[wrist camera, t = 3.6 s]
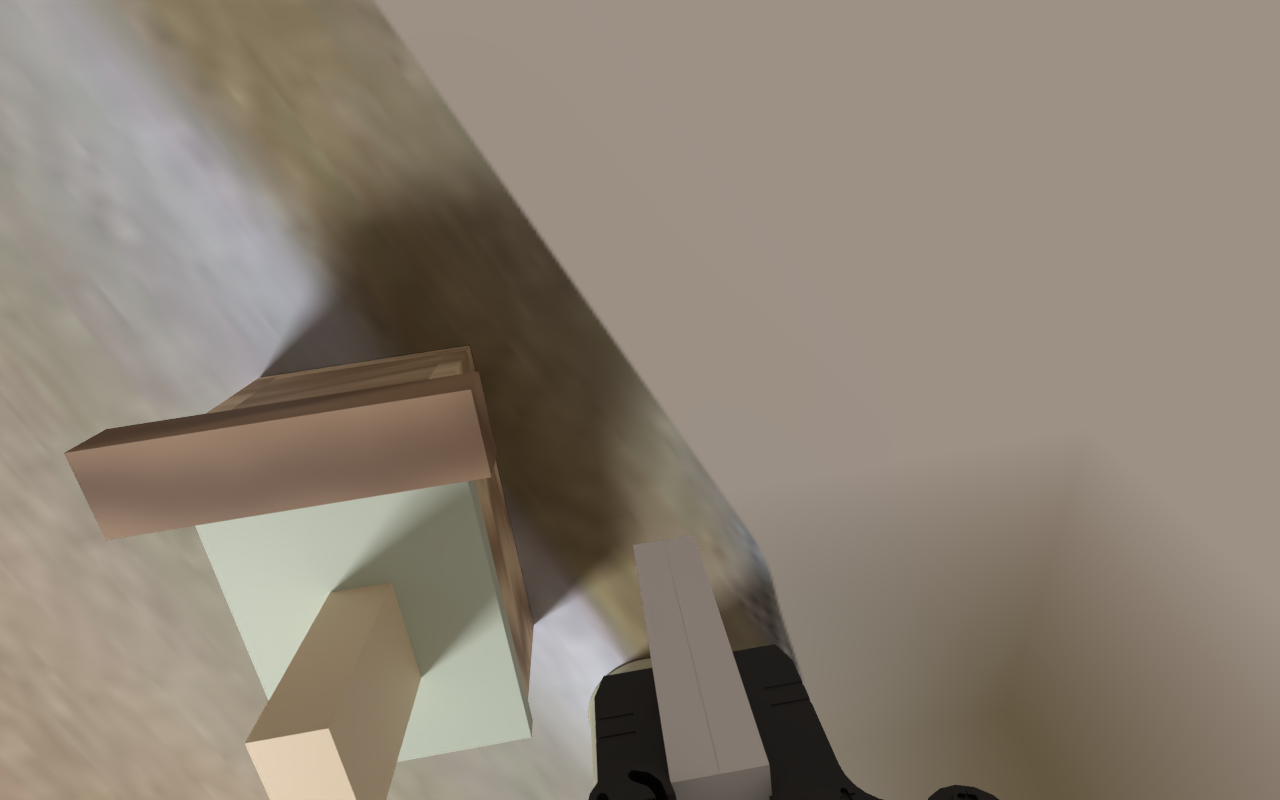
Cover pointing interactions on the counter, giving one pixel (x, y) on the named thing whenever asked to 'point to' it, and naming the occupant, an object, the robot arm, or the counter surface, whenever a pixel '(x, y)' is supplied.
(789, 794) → the robot arm
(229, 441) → the brown rectangular block
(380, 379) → the light wood open box
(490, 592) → the lid
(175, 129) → the counter surface
